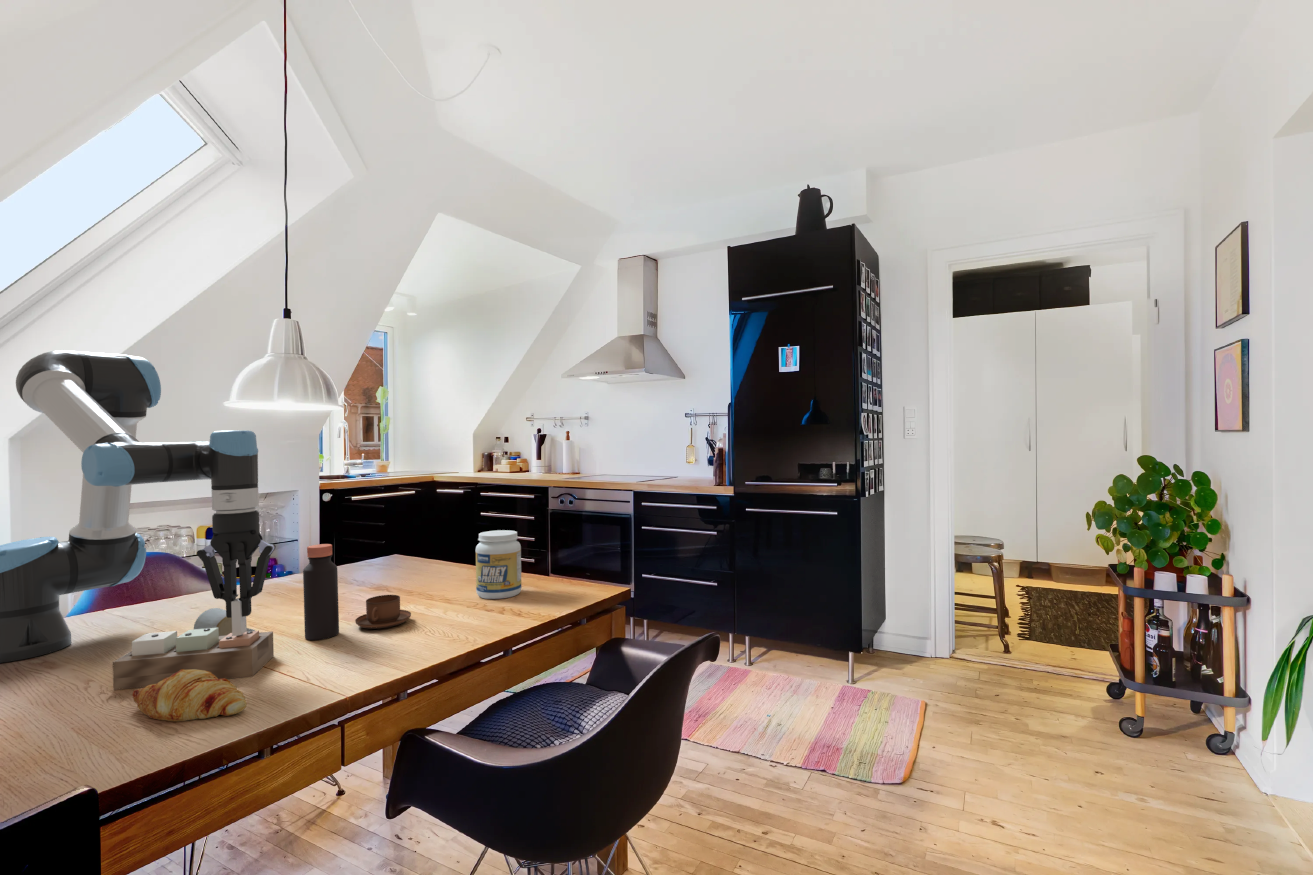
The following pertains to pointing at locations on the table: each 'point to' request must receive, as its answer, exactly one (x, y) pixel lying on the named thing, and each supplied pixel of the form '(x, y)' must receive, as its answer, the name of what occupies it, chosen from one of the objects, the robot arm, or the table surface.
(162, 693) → the croissant
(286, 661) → the table surface
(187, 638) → the two pip tile
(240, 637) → the three pip tile
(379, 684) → the table surface
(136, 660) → the wooden tile tray
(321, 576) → the bottle
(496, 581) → the supplement tub
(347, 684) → the table surface
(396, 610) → the cup and saucer
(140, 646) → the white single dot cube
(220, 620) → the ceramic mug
